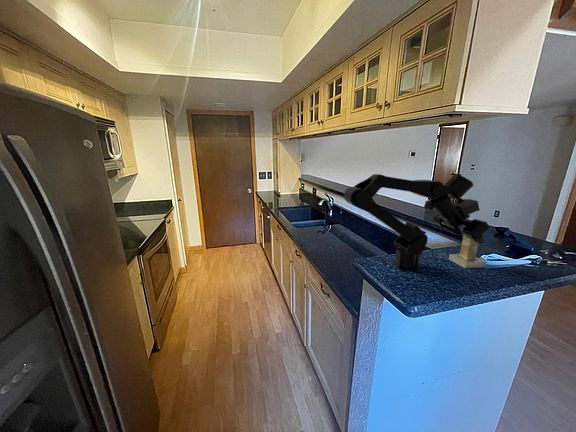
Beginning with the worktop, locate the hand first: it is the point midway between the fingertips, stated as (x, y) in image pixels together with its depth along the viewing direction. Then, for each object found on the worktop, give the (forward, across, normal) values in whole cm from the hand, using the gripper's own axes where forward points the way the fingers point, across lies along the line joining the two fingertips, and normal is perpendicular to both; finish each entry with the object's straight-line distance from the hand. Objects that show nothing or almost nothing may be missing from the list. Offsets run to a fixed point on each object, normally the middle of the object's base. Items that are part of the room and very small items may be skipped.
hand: (471, 238), depth 85 cm
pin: (+6, 0, +7) cm, 9 cm away
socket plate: (+6, 0, +7) cm, 9 cm away
